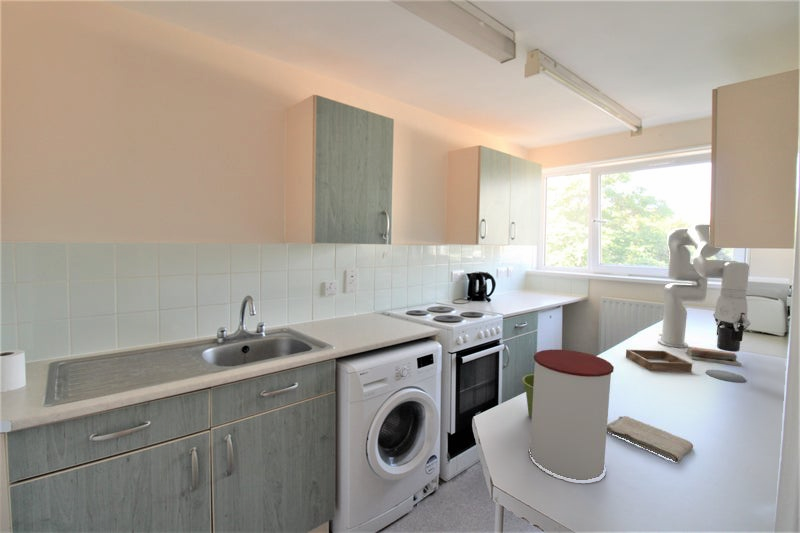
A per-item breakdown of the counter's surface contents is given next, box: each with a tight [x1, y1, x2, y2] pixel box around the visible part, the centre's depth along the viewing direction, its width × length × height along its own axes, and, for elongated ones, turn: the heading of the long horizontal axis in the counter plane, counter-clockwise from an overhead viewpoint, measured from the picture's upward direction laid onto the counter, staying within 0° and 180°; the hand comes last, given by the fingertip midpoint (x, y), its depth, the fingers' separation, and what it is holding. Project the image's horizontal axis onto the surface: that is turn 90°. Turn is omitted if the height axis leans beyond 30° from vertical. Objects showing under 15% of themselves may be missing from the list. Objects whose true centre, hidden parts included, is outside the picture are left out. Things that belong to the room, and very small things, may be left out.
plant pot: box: [521, 373, 534, 419], centre depth 110 cm, size 12×12×11 cm
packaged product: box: [684, 346, 743, 367], centre depth 169 cm, size 18×5×10 cm
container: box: [529, 349, 615, 480], centre depth 89 cm, size 17×17×25 cm
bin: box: [625, 348, 693, 373], centre depth 161 cm, size 17×17×4 cm
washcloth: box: [607, 415, 694, 463], centre depth 100 cm, size 12×18×3 cm, turn 37°
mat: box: [705, 369, 746, 383], centre depth 148 cm, size 12×12×1 cm
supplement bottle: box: [716, 321, 741, 353], centre depth 146 cm, size 7×7×12 cm
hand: (729, 337), depth 147 cm, fingers closed on supplement bottle, 6 cm apart
